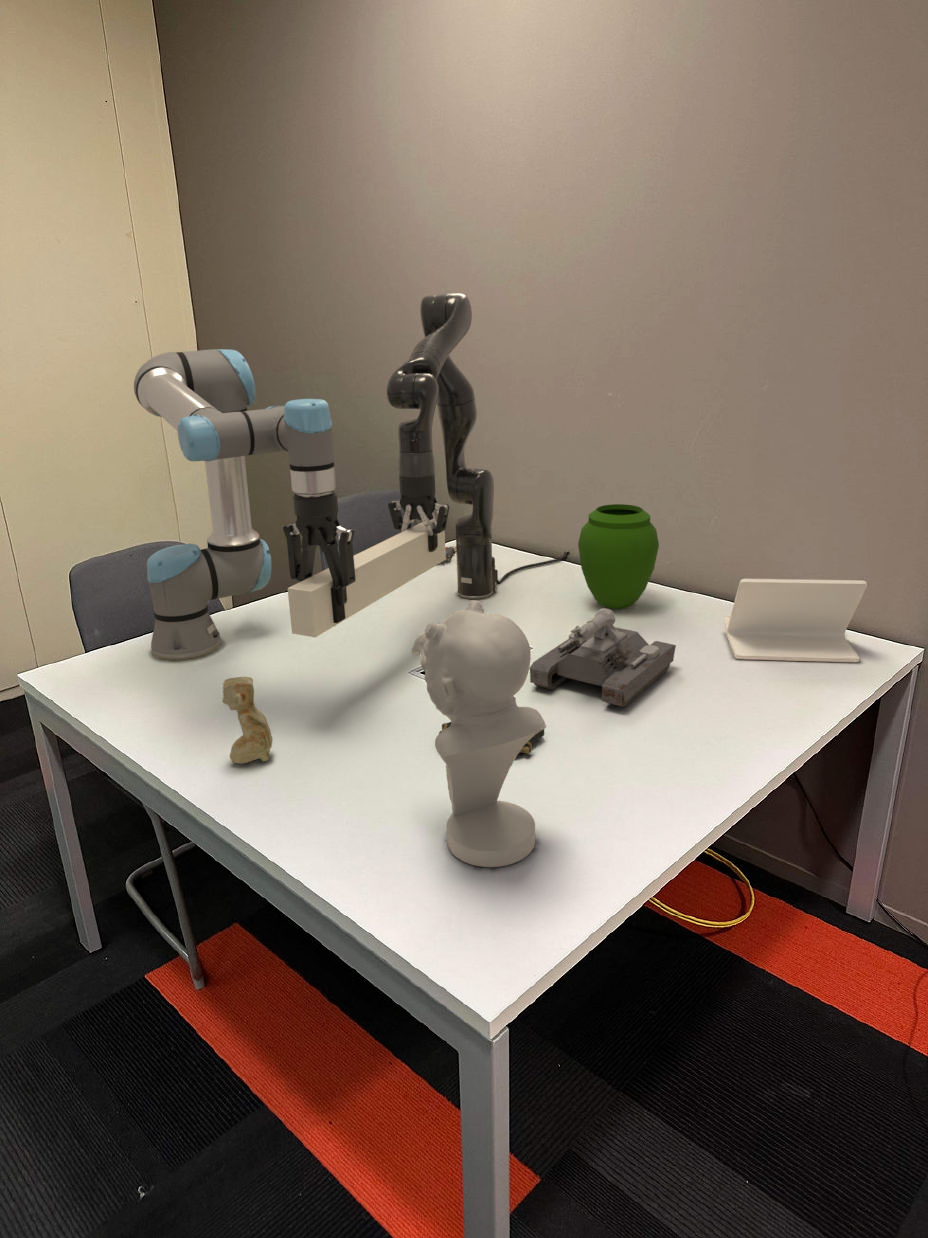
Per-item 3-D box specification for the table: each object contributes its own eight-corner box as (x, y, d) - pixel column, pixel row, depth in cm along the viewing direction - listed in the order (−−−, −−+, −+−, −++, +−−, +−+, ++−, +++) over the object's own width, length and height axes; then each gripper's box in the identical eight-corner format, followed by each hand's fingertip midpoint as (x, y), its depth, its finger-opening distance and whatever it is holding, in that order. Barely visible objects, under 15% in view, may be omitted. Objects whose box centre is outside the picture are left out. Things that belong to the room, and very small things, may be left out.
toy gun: (412, 559, 248) (445, 556, 246) (427, 545, 266) (458, 542, 264) (413, 568, 249) (447, 565, 247) (428, 554, 267) (459, 551, 264)
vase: (599, 587, 227) (601, 497, 218) (668, 600, 216) (673, 505, 208) (562, 608, 212) (564, 513, 204) (634, 623, 202) (639, 523, 193)
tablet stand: (860, 662, 177) (871, 584, 171) (735, 659, 181) (742, 582, 175) (836, 630, 194) (846, 558, 188) (723, 628, 197) (729, 557, 191)
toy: (588, 647, 189) (590, 583, 183) (674, 666, 178) (679, 599, 172) (528, 689, 170) (528, 618, 164) (621, 714, 158) (624, 639, 153)
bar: (315, 637, 148) (311, 591, 145) (292, 633, 150) (287, 588, 147) (445, 559, 191) (444, 522, 188) (426, 557, 193) (424, 520, 190)
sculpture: (233, 752, 149) (222, 673, 144) (275, 748, 150) (266, 670, 145) (229, 769, 144) (217, 688, 138) (272, 765, 144) (262, 685, 139)
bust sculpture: (481, 772, 140) (476, 569, 128) (565, 848, 120) (569, 617, 108) (392, 800, 134) (378, 588, 121) (465, 886, 114) (457, 642, 101)
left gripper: (371, 491, 146) (379, 618, 155) (285, 484, 154) (297, 605, 162) (347, 500, 140) (357, 632, 148) (258, 493, 147) (273, 619, 156)
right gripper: (455, 470, 179) (457, 548, 185) (395, 466, 185) (400, 542, 191) (439, 477, 173) (442, 557, 179) (378, 473, 179) (383, 551, 185)
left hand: (326, 618), depth 155 cm, fingers closed on bar, 5 cm apart
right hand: (420, 549), depth 185 cm, fingers closed on bar, 5 cm apart
